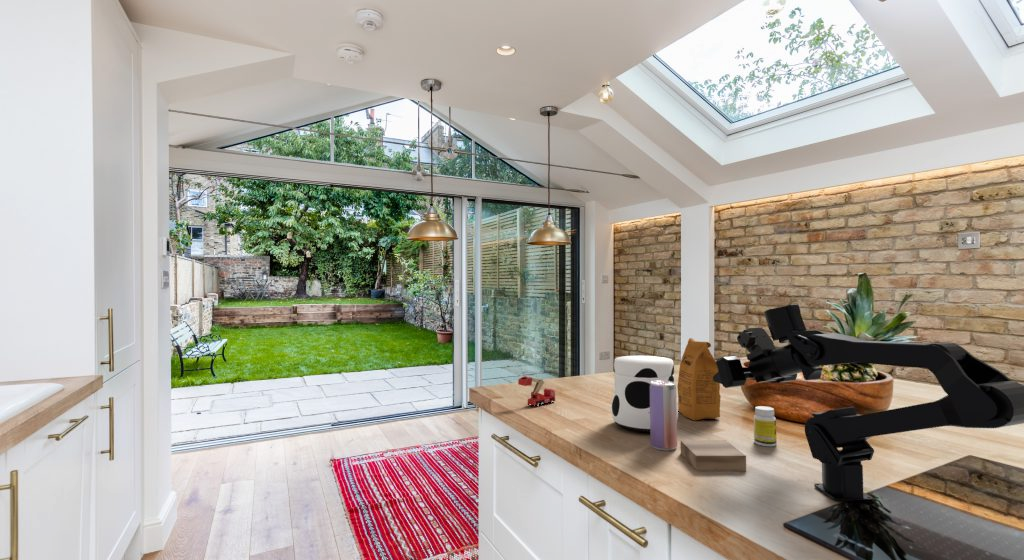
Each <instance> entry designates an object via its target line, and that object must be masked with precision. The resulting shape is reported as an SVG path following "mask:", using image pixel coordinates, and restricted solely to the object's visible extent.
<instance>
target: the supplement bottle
mask: <svg viewBox="0 0 1024 560" xmlns="http://www.w3.org/2000/svg"><path fill="white" fill-rule="evenodd" d="M754 412H755V415H753V442H754V443H755V444H756V445H758V446H761V445H762V447H776V446H777V419H776V417H775V409H774V408H773V407H771V406H763V405H759V406H755V408H754Z"/></svg>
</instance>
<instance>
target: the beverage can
mask: <svg viewBox="0 0 1024 560" xmlns="http://www.w3.org/2000/svg"><path fill="white" fill-rule="evenodd" d="M676 401H677V386H676V383H675V381H674V382H671V381H663V380H657V381H651V382H650V432H649V433H650V434H649V435H650V436H649V437H650V438H649V440H650V443H649V444H650V446H651V447H652V448H653V449H655V450H659V451H662V450H663V451H662V452H665V451H666V452H667V451H668V452H671V451H674V450H676V449H677V447H678V420H677V405H678V401H677V402H676ZM670 450H671V451H670Z"/></svg>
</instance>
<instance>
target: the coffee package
mask: <svg viewBox="0 0 1024 560" xmlns="http://www.w3.org/2000/svg"><path fill="white" fill-rule="evenodd" d="M711 347H712V344H711V343H710V342H709V341H696V340H695V339H694V338H692V337H690V338H688V340H687V344H686V346H685V349H684V352H683V354H682V356H681V360H680V363H679V369H678V380H677V386H676V389H677V398H678V400H677V405H678V411H679V412H678V413H681V414H682V416H683V417H684V416H685V417H684V418H686V417H687V418H686V419H689V420H692V421H700V420H704V419H705V420H706V419H709V420H710V419H711V420H713V419H717V418H720V417H721V393H720V389H721V384H720V383H717V382H714V380H713V376H714V375H715V374H716V373H717V372H718V368H717V364H716V359H715V358H714V356H713V354H712V353H711V351H710V348H711Z"/></svg>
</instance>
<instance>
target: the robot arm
mask: <svg viewBox="0 0 1024 560" xmlns="http://www.w3.org/2000/svg"><path fill="white" fill-rule="evenodd" d="M763 314H764V318H765V322H766V324H767V326H768V331H769V333H770V336H771V337H770V336H769V334H768V332H767V331H766V330H765V328H763V327H748V328H746V329H743V331H739V332H738V335H737V337H736V340H737V342H738V344H739V346H740V347H741V348H742V349H743V348H744V349H746V350H747V352H748V353H747V354H746V355H745V356H746V359H747V361H749V362H748V366H746V367H744V366H743V365H742V362H741V359H740V358H739V357H738V356H736V355H733V356H722V357H719V358H717V359H715V361H716V364H717V368H718V372H717V373H716V374H715V375H714V376H713V380H714V382H717V383H720V385H722V387H724V388H725V389H729V388H738V387H742V386H743V387H744V386H745V385H746V382H747V380H753V381H756V383H771V384H777V383H778V384H779V383H788V382H792V381H793V382H794V381H796V380H797V377H798V374H801V373H802V377H803V379H804V380H805V381H816V380H820V379H821V377H822V371H823V370H824V369H823V368H822V366H831V365H832V366H835V365H844V364H854V363H856V364H857V363H859V364H870V365H882V366H883V365H884V366H892V367H893V366H895V367H896V366H897V367H906V368H918V369H919V368H921V369H927V370H928V371H930V372H931V373H932V374H933V375H934V377H935V378H936V380H937V382H938V383H939V385H940V386H941V388H942V390H943V391H944V392H945V394H946V395H945V396H943V397H940V398H939V399H938V400H935V401H930V402H925V403H920V404H914V405H909V406H903V407H898V408H893V409H888V410H882V411H876V412H871V413H865V414H857V411H856V406H850V407H849V406H848V407H842V408H835V409H829V410H826V411H820V412H813V413H811V416H812V417H809V418H807V419H806V420H805V424H804V434H805V437H806V440H807V445H808V448H809V451H810V452H811V456H812V458H813V459H815V460H818V461H820V463H821V479H822V483H820V482H819V483H813V484H814V488H816V489H817V490H819V491H820V492H822V493H823V494H825V495H826V496H828V497H829V498H831V499H832V500H834V501H835V502H854V501H853V500H872V499H873V497H872V496H870V495H868V494H867V493H866V492H864V468H863V467H864V465H863V464H862V462H864V461H871V460H872V458H873V456H874V453H875V449H874V448H873V446H871V444H870V443H869V442H868V439H870V438H872V437H878V436H884V435H891V434H898V433H905V432H912V431H920V430H925V429H926V430H927V429H934V428H935V429H936V428H940V427H955V428H967V429H999V428H1004V427H1005V428H1006V427H1012V426H1016V425H1021V424H1022V425H1023V424H1024V385H1023V384H1022V383H1019V382H1018V381H1014V380H1012V379H1011V378H1010V377H1008V376H1007V375H1006V374H1004V372H1002V371H1001V370H999V369H997V368H995V367H994V366H991V365H990V364H988V363H986V362H985V361H983V360H981V359H979V358H977V357H976V356H974V355H973V354H971V353H970V352H969V351H968V350H967V349H965V347H963V346H961V345H959V344H957V343H954V342H947V341H946V342H935V343H934V342H933V343H931V342H930V343H929V342H911V341H910V342H906V341H905V342H903V341H881V340H880V341H879V340H877V341H876V340H865V339H861V338H858V337H856V336H853V335H847V334H842V333H838V332H837V333H836V332H835V333H834V332H833V333H832V332H831V333H828V332H827V333H826V332H824V331H821V330H819V329H807V328H806V325H805V322H804V319H803V317H802V316H803V315H802V314H801V307H800V305H799V304H795V303H793V304H791V303H790V304H787V305H784V306H779V307H775V308H769V309H766V310H765V311H764V312H763ZM774 341H775V342H776V341H778V343H779V344H786V343H789V344H787V345H784V346H780V347H776V346H775V344H774V343H775V342H774ZM839 448H840V449H839ZM841 448H842V449H841Z"/></svg>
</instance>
